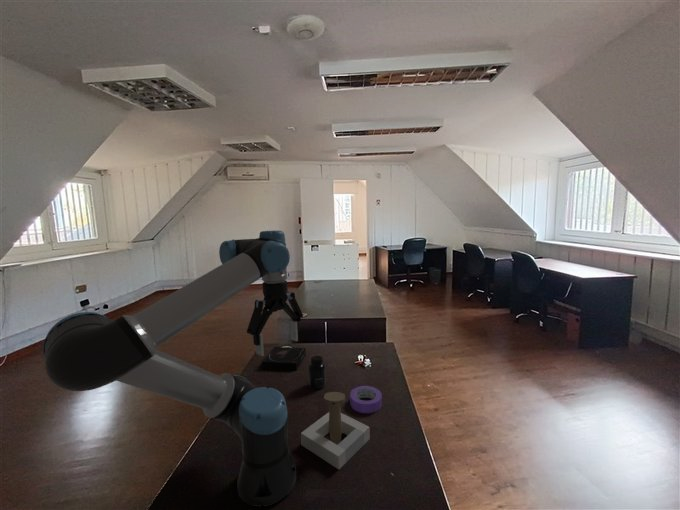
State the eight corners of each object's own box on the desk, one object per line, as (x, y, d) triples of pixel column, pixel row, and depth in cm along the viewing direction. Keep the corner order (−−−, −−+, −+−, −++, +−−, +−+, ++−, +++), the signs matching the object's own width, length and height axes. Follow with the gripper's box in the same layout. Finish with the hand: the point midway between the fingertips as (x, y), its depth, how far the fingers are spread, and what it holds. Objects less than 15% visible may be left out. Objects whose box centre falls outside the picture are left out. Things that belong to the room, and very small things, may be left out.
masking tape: (388, 403, 114) (387, 393, 114) (368, 418, 106) (368, 408, 105) (363, 391, 122) (363, 382, 122) (343, 404, 114) (343, 395, 113)
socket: (339, 469, 84) (338, 456, 84) (301, 445, 94) (300, 433, 93) (369, 438, 96) (369, 426, 95) (333, 419, 105) (333, 408, 105)
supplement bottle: (319, 391, 122) (318, 363, 121) (305, 387, 126) (304, 359, 125) (328, 383, 128) (328, 356, 127) (315, 379, 132) (314, 352, 130)
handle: (345, 448, 92) (344, 401, 90) (324, 446, 93) (322, 400, 91) (347, 437, 97) (345, 392, 95) (327, 435, 97) (325, 391, 96)
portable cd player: (273, 354, 159) (273, 346, 158) (305, 355, 156) (305, 348, 156) (261, 369, 143) (260, 361, 142) (296, 371, 140) (296, 363, 140)
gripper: (246, 290, 82) (251, 365, 85) (312, 275, 101) (314, 337, 104) (231, 287, 87) (236, 358, 89) (296, 273, 106) (299, 332, 109)
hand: (278, 347), depth 97 cm, fingers open, 13 cm apart
